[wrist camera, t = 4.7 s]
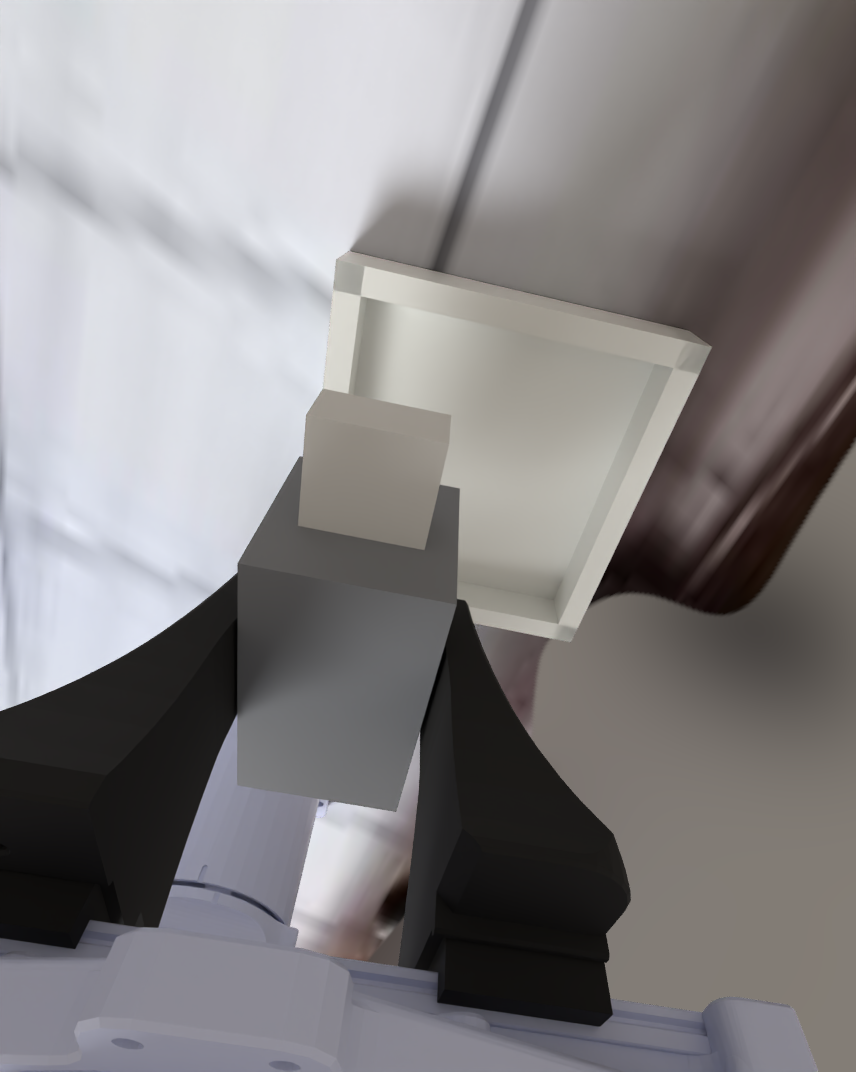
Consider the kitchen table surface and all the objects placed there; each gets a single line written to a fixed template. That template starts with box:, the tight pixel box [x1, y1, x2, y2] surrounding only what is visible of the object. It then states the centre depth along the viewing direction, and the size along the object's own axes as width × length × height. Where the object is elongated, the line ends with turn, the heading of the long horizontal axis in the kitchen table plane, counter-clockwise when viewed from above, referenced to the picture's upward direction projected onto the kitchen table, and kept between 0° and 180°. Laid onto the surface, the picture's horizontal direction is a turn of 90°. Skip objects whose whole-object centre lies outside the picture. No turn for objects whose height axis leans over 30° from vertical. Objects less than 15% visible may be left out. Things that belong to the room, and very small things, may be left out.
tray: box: [323, 251, 712, 642], centre depth 20 cm, size 12×11×2 cm
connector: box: [237, 389, 460, 812], centre depth 13 cm, size 9×4×4 cm, turn 169°
